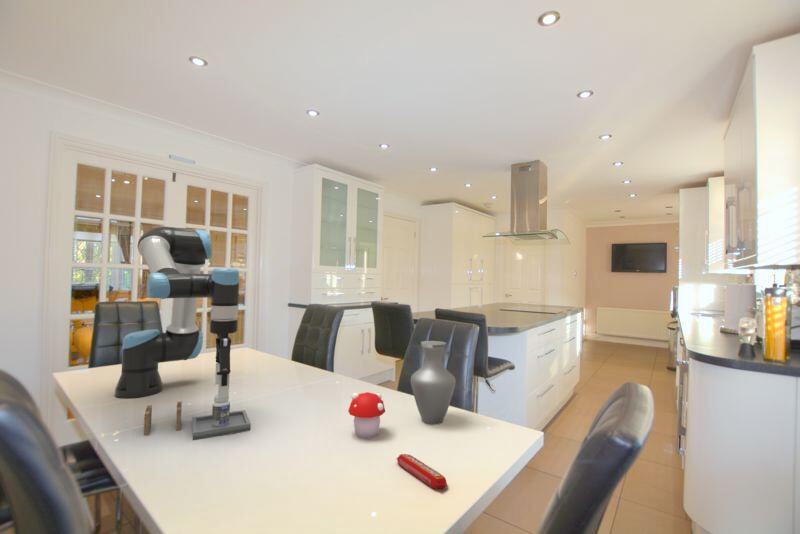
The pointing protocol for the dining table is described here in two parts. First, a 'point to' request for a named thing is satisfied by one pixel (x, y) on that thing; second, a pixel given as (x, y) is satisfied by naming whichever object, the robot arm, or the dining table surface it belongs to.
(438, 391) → the vase
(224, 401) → the pill bottle
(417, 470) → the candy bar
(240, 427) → the slate tray
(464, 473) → the dining table surface
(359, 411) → the mushroom
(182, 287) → the robot arm
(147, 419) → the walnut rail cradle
